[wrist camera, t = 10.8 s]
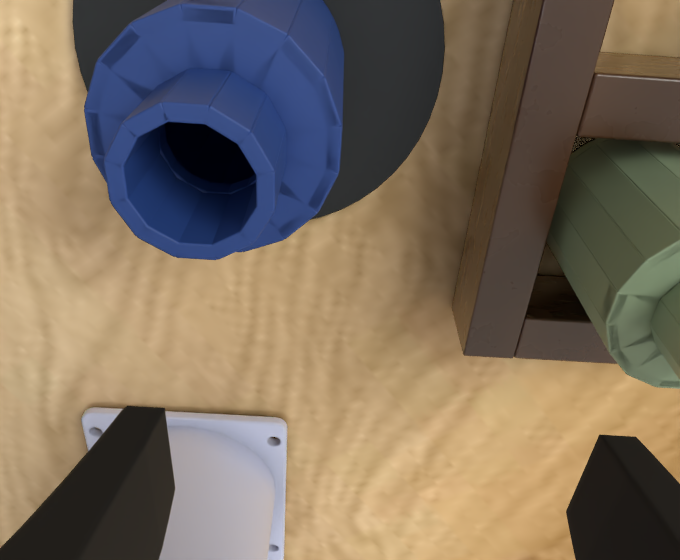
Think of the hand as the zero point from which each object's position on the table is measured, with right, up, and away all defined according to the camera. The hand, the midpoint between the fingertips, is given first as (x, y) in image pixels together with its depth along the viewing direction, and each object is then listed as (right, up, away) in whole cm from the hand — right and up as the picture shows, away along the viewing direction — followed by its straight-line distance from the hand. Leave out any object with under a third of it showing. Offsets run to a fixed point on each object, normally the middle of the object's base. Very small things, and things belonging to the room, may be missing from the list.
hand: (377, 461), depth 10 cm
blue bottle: (-3, +9, +6) cm, 11 cm away
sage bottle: (+8, +6, +9) cm, 13 cm away
